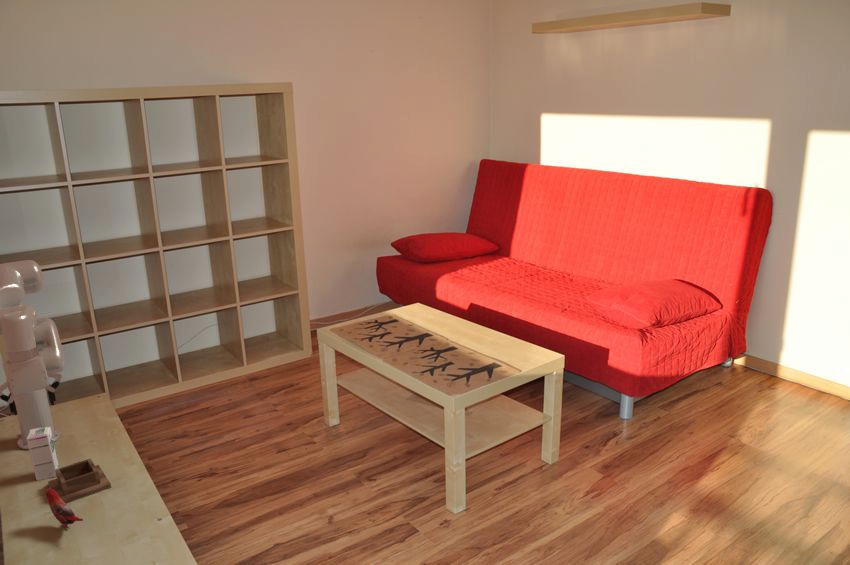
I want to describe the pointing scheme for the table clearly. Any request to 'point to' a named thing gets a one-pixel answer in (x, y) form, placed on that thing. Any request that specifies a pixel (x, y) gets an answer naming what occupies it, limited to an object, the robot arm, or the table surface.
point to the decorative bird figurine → (61, 509)
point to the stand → (79, 481)
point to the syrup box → (43, 452)
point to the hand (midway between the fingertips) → (34, 408)
